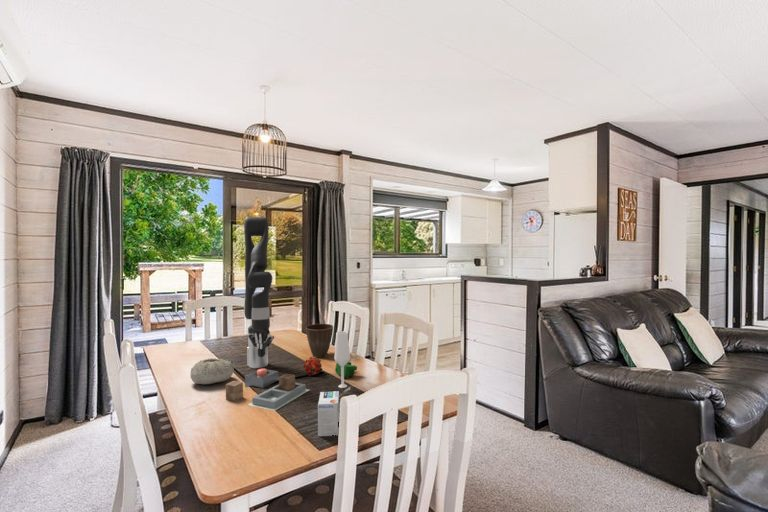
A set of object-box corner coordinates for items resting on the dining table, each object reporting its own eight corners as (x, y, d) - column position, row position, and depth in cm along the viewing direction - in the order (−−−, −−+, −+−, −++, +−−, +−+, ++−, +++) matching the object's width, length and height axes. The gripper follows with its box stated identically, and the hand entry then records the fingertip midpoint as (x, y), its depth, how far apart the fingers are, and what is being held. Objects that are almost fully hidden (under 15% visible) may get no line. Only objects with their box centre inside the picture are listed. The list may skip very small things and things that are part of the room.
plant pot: (339, 354, 219) (338, 325, 219) (321, 361, 207) (320, 330, 206) (318, 350, 227) (318, 322, 227) (300, 356, 215) (299, 327, 214)
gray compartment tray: (247, 407, 150) (247, 398, 150) (284, 387, 170) (284, 379, 170) (274, 413, 145) (274, 404, 145) (309, 392, 165) (309, 383, 165)
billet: (279, 394, 160) (278, 377, 160) (286, 390, 164) (286, 373, 164) (288, 395, 158) (287, 378, 158) (295, 391, 163) (294, 375, 162)
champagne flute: (338, 392, 164) (337, 335, 163) (332, 387, 170) (331, 331, 169) (353, 389, 167) (352, 333, 166) (347, 384, 173) (346, 330, 172)
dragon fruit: (314, 372, 194) (314, 384, 182) (299, 364, 192) (299, 375, 180) (324, 358, 193) (325, 370, 182) (310, 350, 191) (310, 361, 180)
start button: (255, 379, 173) (255, 370, 173) (261, 376, 176) (261, 368, 176) (262, 381, 171) (262, 371, 171) (268, 378, 175) (268, 369, 175)
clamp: (352, 385, 184) (359, 369, 181) (340, 384, 181) (347, 368, 178) (345, 368, 194) (351, 353, 191) (333, 367, 191) (340, 352, 188)
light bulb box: (320, 421, 138) (319, 391, 137) (339, 420, 138) (339, 390, 138) (317, 437, 127) (317, 404, 127) (338, 435, 128) (338, 403, 127)
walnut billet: (226, 401, 156) (225, 384, 155) (234, 397, 160) (234, 380, 159) (234, 403, 154) (234, 386, 153) (243, 399, 158) (242, 382, 157)
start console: (245, 386, 171) (244, 375, 171) (261, 379, 180) (260, 368, 180) (263, 390, 167) (262, 378, 167) (278, 382, 176) (278, 371, 176)
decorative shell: (224, 372, 190) (223, 352, 190) (240, 381, 178) (240, 359, 177) (184, 382, 178) (184, 360, 178) (199, 392, 165) (198, 369, 165)
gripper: (242, 317, 172) (243, 357, 173) (266, 319, 167) (267, 360, 167) (254, 314, 179) (255, 352, 179) (278, 316, 173) (279, 355, 174)
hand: (261, 356), depth 173 cm, fingers closed
